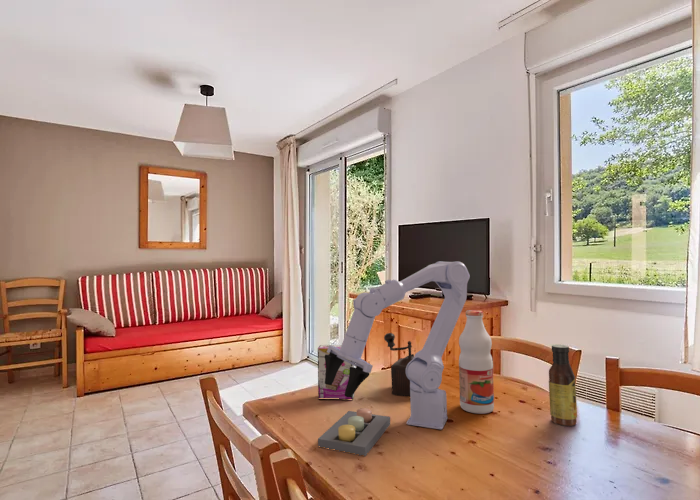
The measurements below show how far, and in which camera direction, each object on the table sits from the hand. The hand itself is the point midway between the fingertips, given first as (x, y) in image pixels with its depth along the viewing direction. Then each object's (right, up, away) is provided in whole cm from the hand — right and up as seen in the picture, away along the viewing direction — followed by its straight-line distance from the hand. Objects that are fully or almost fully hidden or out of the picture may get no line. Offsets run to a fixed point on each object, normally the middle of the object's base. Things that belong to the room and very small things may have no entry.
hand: (337, 390), depth 101 cm
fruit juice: (+40, -11, +15) cm, 44 cm away
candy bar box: (-1, -12, +27) cm, 29 cm away
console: (+5, -11, 0) cm, 12 cm away
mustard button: (+2, -10, -5) cm, 11 cm away
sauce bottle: (+59, -10, +5) cm, 60 cm away
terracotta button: (+7, -10, +5) cm, 13 cm away
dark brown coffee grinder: (+21, -12, +32) cm, 40 cm away
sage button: (+5, -10, 0) cm, 11 cm away
